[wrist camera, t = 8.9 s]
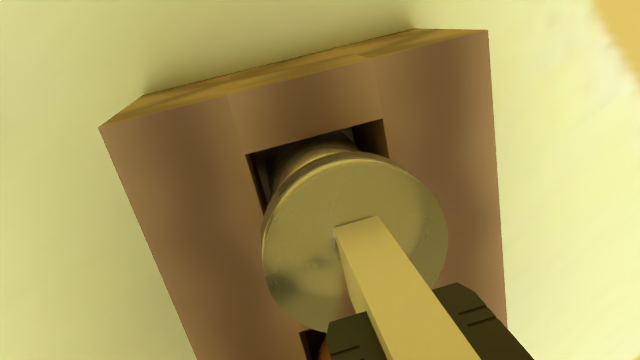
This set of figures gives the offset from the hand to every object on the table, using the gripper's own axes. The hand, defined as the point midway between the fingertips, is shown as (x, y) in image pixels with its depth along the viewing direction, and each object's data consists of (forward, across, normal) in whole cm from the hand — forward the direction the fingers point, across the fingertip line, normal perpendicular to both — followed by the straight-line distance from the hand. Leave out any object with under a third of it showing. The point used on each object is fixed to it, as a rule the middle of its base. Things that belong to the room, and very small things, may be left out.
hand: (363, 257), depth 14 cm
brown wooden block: (+13, 0, -10) cm, 16 cm away
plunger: (+11, 0, 0) cm, 11 cm away
